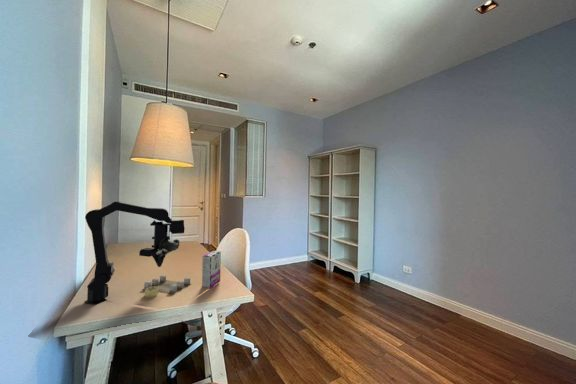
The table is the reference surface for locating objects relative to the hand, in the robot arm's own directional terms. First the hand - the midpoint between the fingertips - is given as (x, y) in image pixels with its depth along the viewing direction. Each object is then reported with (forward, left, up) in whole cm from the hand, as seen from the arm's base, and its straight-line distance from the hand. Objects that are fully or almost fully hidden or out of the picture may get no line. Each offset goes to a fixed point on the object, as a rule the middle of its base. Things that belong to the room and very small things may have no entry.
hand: (159, 266), depth 113 cm
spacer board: (+1, -2, -12) cm, 12 cm away
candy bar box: (+15, -19, -12) cm, 27 cm away
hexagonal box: (-6, -2, -11) cm, 13 cm away
